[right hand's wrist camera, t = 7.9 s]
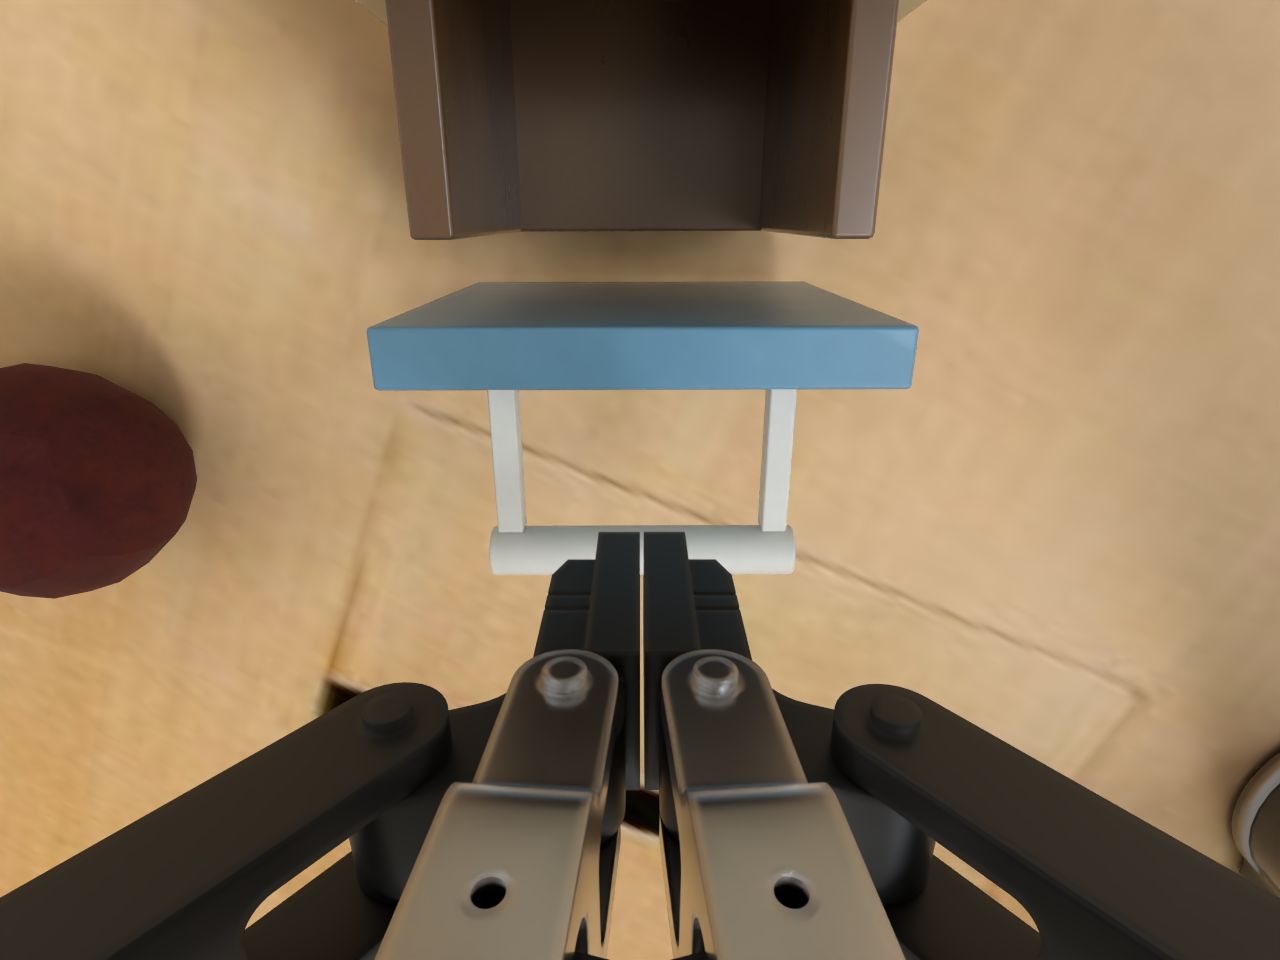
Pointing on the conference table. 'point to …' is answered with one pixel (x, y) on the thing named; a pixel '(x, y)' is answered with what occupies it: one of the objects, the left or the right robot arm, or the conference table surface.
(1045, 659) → the conference table surface
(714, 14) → the drawer
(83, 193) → the conference table surface
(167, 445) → the potato
